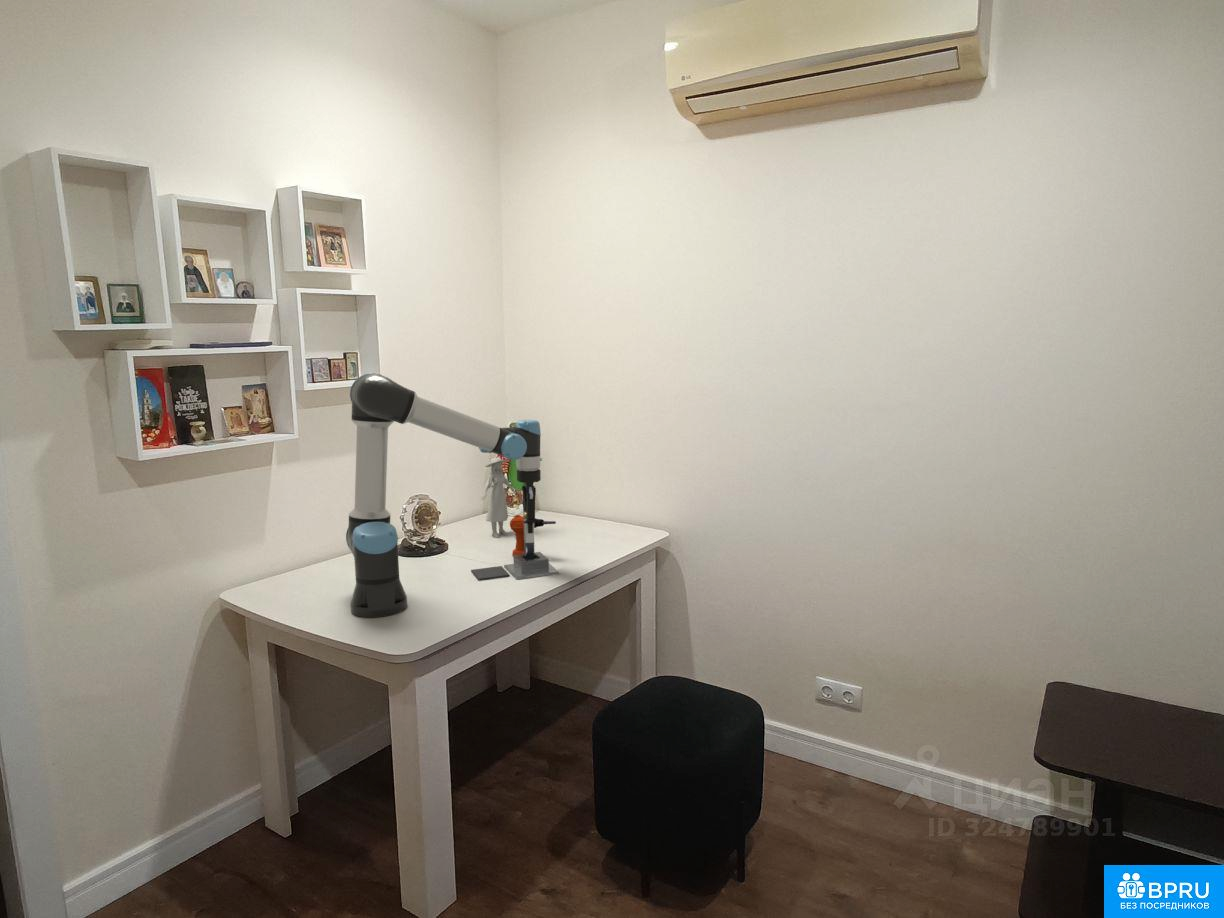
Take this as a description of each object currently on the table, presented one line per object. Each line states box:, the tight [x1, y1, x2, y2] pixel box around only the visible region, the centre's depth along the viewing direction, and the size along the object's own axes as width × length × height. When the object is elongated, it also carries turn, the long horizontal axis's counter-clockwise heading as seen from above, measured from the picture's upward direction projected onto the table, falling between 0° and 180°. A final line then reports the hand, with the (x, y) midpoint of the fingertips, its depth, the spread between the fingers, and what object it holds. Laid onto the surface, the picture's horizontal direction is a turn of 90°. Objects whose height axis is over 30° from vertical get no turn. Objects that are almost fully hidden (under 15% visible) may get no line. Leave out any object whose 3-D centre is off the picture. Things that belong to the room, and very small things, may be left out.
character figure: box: [481, 457, 516, 538], centre depth 287 cm, size 17×8×30 cm, turn 142°
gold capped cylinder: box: [522, 511, 535, 558], centre depth 244 cm, size 4×4×14 cm
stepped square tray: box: [503, 551, 560, 580], centre depth 246 cm, size 14×14×4 cm
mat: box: [470, 565, 511, 581], centre depth 243 cm, size 10×10×1 cm
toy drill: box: [509, 514, 557, 557], centre depth 258 cm, size 5×19×15 cm, turn 63°
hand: (529, 540), depth 244 cm, fingers closed on gold capped cylinder, 3 cm apart
